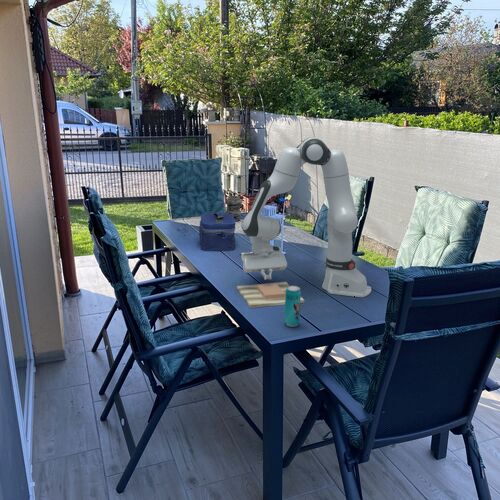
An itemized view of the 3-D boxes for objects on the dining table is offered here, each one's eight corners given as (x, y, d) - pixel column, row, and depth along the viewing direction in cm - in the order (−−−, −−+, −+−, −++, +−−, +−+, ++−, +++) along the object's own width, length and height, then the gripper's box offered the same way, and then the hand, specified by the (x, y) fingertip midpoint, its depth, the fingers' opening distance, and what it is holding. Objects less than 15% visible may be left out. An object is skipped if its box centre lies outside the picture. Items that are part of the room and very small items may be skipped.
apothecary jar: (237, 222, 357) (237, 198, 352) (222, 221, 361) (222, 197, 356) (243, 219, 368) (244, 195, 363) (229, 218, 372) (229, 194, 367)
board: (236, 288, 225) (236, 285, 225) (285, 284, 232) (285, 281, 231) (250, 308, 203) (250, 305, 203) (304, 302, 209) (304, 300, 209)
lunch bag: (238, 252, 283) (238, 217, 277) (202, 253, 280) (201, 218, 274) (231, 239, 312) (231, 207, 307) (198, 240, 309) (197, 208, 303)
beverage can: (293, 329, 184) (294, 291, 180) (281, 324, 188) (282, 288, 184) (302, 324, 188) (303, 287, 184) (290, 320, 192) (291, 284, 188)
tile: (275, 283, 222) (285, 293, 210) (275, 288, 222) (285, 298, 210) (256, 285, 219) (265, 295, 207) (256, 290, 220) (265, 300, 208)
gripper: (241, 250, 219) (247, 277, 212) (284, 247, 224) (291, 274, 218) (239, 257, 224) (244, 284, 218) (281, 254, 229) (287, 280, 223)
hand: (268, 279), depth 218 cm, fingers closed
